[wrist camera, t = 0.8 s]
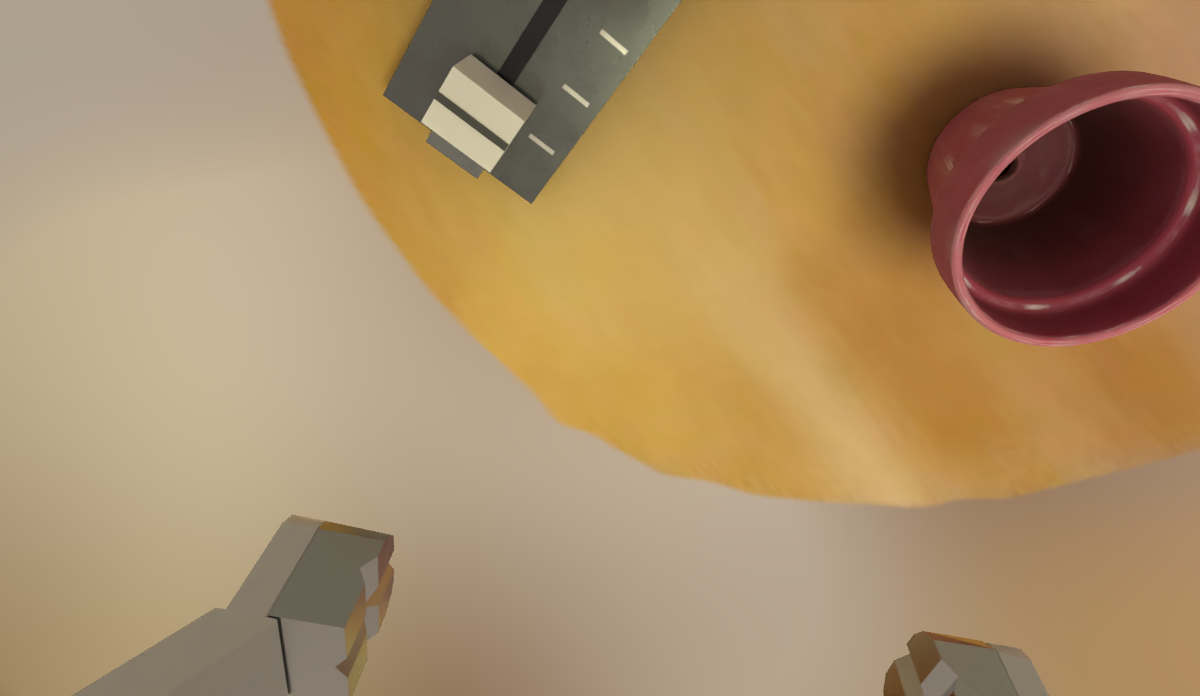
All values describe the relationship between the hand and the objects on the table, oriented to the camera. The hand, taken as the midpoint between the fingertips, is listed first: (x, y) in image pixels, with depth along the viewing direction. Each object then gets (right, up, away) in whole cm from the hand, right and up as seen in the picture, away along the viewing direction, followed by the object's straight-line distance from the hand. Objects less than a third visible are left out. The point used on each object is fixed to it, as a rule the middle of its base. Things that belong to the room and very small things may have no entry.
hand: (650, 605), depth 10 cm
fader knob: (-8, +20, +32) cm, 39 cm away
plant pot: (+26, +17, +34) cm, 46 cm away
